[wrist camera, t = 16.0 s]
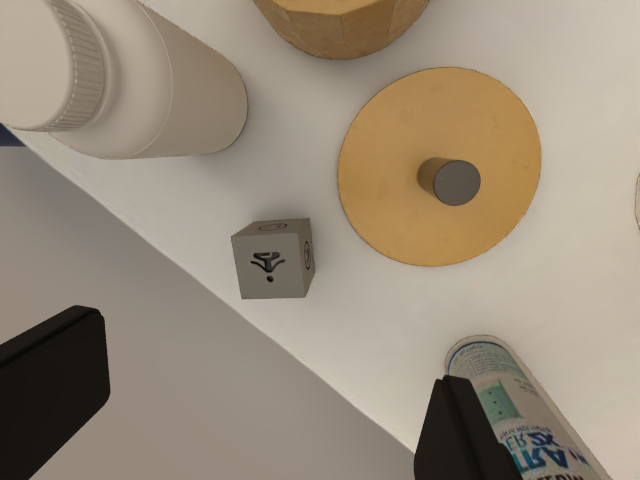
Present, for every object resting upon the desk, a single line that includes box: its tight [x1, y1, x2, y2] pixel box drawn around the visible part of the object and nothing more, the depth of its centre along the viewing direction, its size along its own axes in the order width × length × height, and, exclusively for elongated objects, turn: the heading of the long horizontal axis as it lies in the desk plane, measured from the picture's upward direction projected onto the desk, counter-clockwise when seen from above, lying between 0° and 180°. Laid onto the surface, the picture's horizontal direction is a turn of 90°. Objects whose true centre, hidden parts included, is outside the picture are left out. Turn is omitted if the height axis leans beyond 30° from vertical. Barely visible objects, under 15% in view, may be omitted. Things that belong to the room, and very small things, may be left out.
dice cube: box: [231, 218, 315, 299], centre depth 26 cm, size 5×5×5 cm
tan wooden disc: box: [337, 67, 541, 267], centre depth 22 cm, size 15×15×7 cm
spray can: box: [445, 335, 612, 480], centre depth 19 cm, size 6×6×20 cm
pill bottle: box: [0, 0, 247, 160], centre depth 19 cm, size 8×8×15 cm
